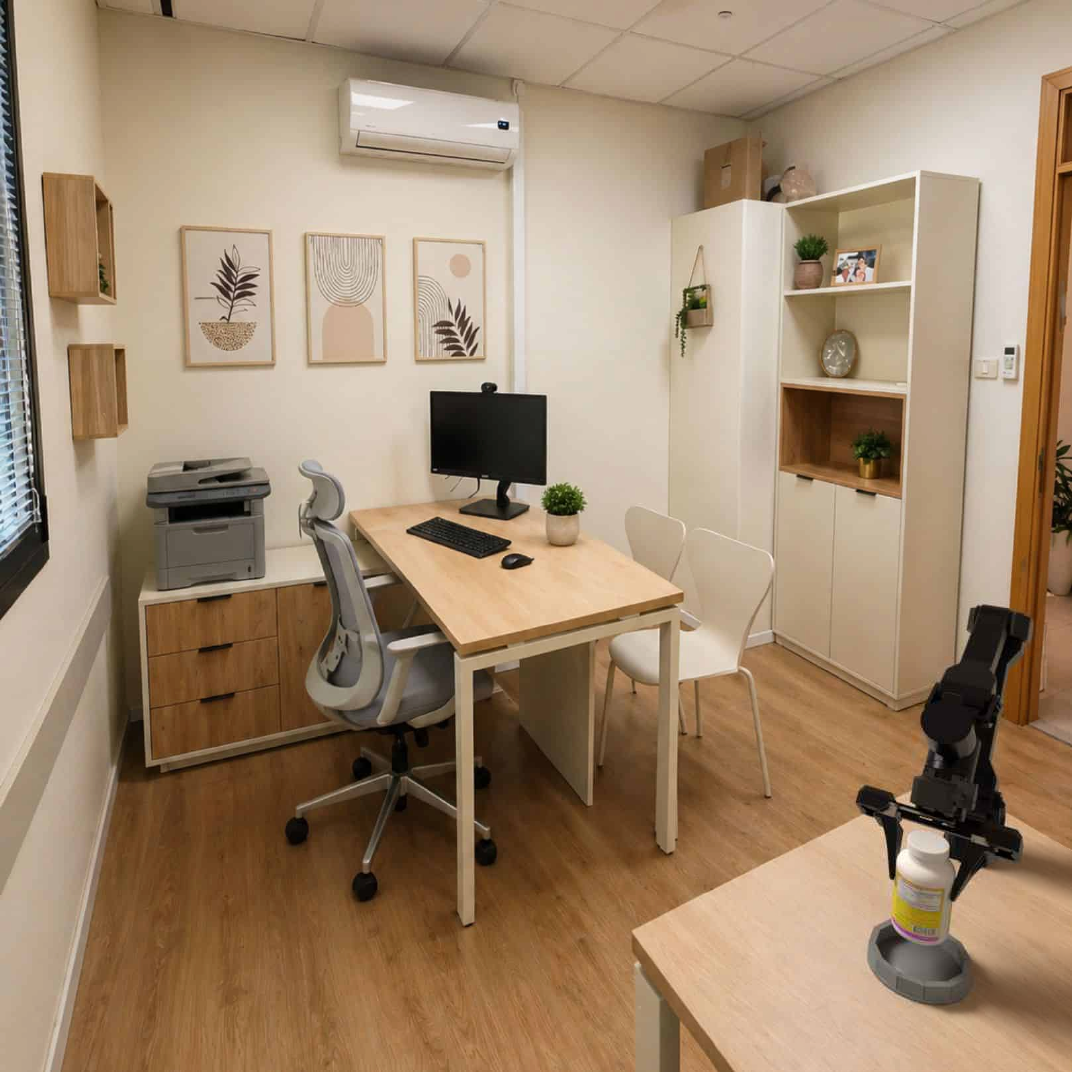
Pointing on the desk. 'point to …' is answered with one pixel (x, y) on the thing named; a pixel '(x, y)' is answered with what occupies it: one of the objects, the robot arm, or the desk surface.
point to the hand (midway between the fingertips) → (921, 890)
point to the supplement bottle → (923, 889)
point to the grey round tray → (919, 966)
